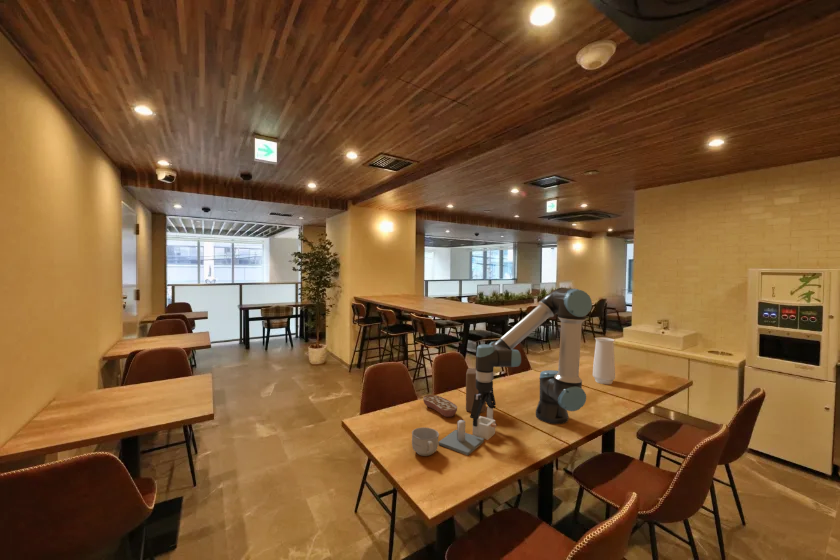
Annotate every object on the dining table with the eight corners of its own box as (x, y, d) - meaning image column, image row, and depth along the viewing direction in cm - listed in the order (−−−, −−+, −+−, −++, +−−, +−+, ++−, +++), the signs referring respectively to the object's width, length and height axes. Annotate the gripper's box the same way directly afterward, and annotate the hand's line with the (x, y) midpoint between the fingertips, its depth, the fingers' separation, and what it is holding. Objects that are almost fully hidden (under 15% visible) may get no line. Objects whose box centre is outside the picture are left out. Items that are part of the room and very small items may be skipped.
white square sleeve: (472, 434, 154) (472, 421, 154) (480, 428, 160) (480, 415, 160) (492, 441, 149) (492, 427, 149) (499, 434, 155) (499, 421, 154)
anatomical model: (419, 406, 187) (419, 397, 186) (434, 402, 192) (434, 393, 192) (446, 421, 168) (446, 411, 168) (462, 417, 173) (462, 407, 173)
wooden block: (485, 413, 177) (485, 374, 176) (465, 411, 179) (466, 373, 178) (485, 405, 187) (486, 368, 186) (467, 404, 189) (467, 367, 188)
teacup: (411, 445, 145) (411, 426, 145) (436, 444, 146) (437, 425, 146) (413, 464, 131) (413, 443, 131) (441, 463, 132) (441, 442, 132)
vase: (619, 385, 220) (620, 341, 219) (598, 385, 220) (599, 341, 219) (608, 378, 233) (609, 337, 232) (588, 378, 233) (589, 337, 232)
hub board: (483, 441, 149) (484, 420, 148) (467, 455, 137) (468, 432, 137) (455, 432, 157) (455, 412, 157) (438, 444, 146) (438, 423, 145)
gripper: (488, 372, 166) (487, 415, 167) (462, 385, 146) (461, 435, 147) (503, 375, 162) (502, 420, 163) (478, 389, 142) (477, 440, 143)
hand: (483, 427), depth 155 cm, fingers open, 13 cm apart
